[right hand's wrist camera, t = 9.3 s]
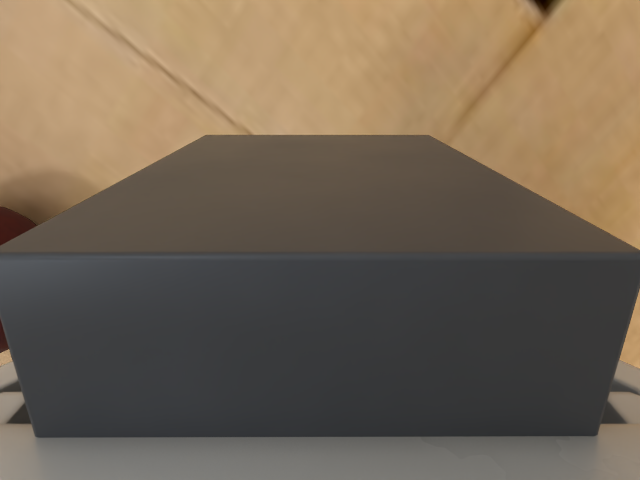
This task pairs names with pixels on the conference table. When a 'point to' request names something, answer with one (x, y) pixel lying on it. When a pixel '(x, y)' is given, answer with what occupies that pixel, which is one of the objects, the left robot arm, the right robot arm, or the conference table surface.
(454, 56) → the conference table surface
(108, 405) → the box
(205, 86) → the conference table surface
